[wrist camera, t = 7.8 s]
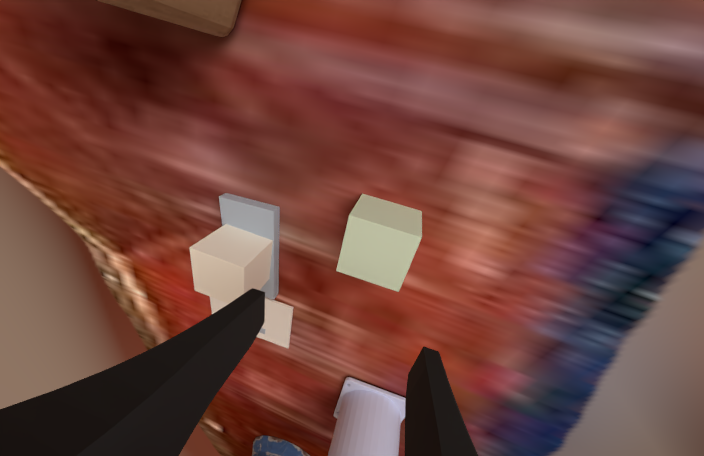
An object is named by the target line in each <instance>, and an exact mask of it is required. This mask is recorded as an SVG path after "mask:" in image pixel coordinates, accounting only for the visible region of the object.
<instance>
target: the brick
mask: <svg viewBox="0 0 704 456" xmlns="http://www.w3.org/2000/svg"><path fill="white" fill-rule="evenodd" d="M272 244H273V240H270V239H267V238H265V237H262V236H259V235H256V234H253V233H250V232H248V231H245V230H242V229H239V228H236V227H233V226H231V225H228V224H225V225H224V226H222V227H220V228H219V229H217V230H216V231H214V232H213V233H211V234H210V235H208V236H206V237H205V238H203V239H202V240H200V241H199V242H197V243H196V244H194V245H192V246H191V247H189V248H190V256H191V264H192V272H193V280H194V289H195V291H197V292H200V293H202V294H205V295H208V296H210V297H213V298H215V299H218V300H220V301H223V302H226V303H228V304H229V303H231V302H232V301H234V300H235V299H237V298H238V297H240V296H241V295H243V294H244V293H246V292H247V291H249V290H250V289H252V288H254V289H257V290H260V289H261V288H262V287H263V286H264V285H265V283H266V282H267V281H268V280H269V279H270V267H271V256H272Z"/></svg>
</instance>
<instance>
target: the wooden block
mask: <svg viewBox="0 0 704 456" xmlns="http://www.w3.org/2000/svg"><path fill="white" fill-rule="evenodd" d="M96 1H100V2H103V3H107V4H110V5H113V6H117V7H120V8H123V9H127V10H130V11H133V12H137V13H140V14H143V15H147V16H150V17H154V18H157V19H160V20H164V21H167V22H170V23H174V24H177V25H180V26H184V27H187V28H191V29H194V30H197V31H201V32H204V33H207V34H211V35H215V36H219V37H225V36H228V34H229V33H230V32H231V30H232V29H233V28H234V25H235V21H236V18H237V15H238V11H239V8H240V4H241V1H242V0H96Z"/></svg>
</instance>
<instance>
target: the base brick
mask: <svg viewBox="0 0 704 456" xmlns="http://www.w3.org/2000/svg"><path fill="white" fill-rule="evenodd" d="M219 202H220V210H221V218H222V226H224V225H225V224H228V225H231V226H233V227H236V228H239V229H242V230H245V231H248V232H250V233H253V234H256V235H259V236H262V237H265V238H267V239H270V240H273V244H272V256H271V267H270V279H269V280H268V281H267V282H266V283H265V285H264V286H263V287H262V288H261V289H260V291H263V292H265V297H267V298H270V299H273V300H274V299H275V298H276V296H277V295H278V285H279V216H280V207H278V206H274V205H270V204H266V203H262V202H259V201H255V200H251V199H247V198H243V197H240V196H236V195H232V194H228V193H225V194H223V195H221V196H219Z"/></svg>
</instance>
